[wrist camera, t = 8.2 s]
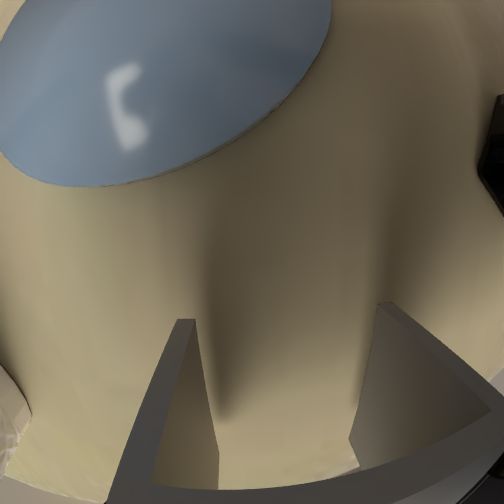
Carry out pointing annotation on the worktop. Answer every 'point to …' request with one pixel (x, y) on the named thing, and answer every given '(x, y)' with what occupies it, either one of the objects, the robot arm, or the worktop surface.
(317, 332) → the worktop surface
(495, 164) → the robot arm
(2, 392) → the white cup
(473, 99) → the worktop surface
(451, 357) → the cover
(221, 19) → the dish
